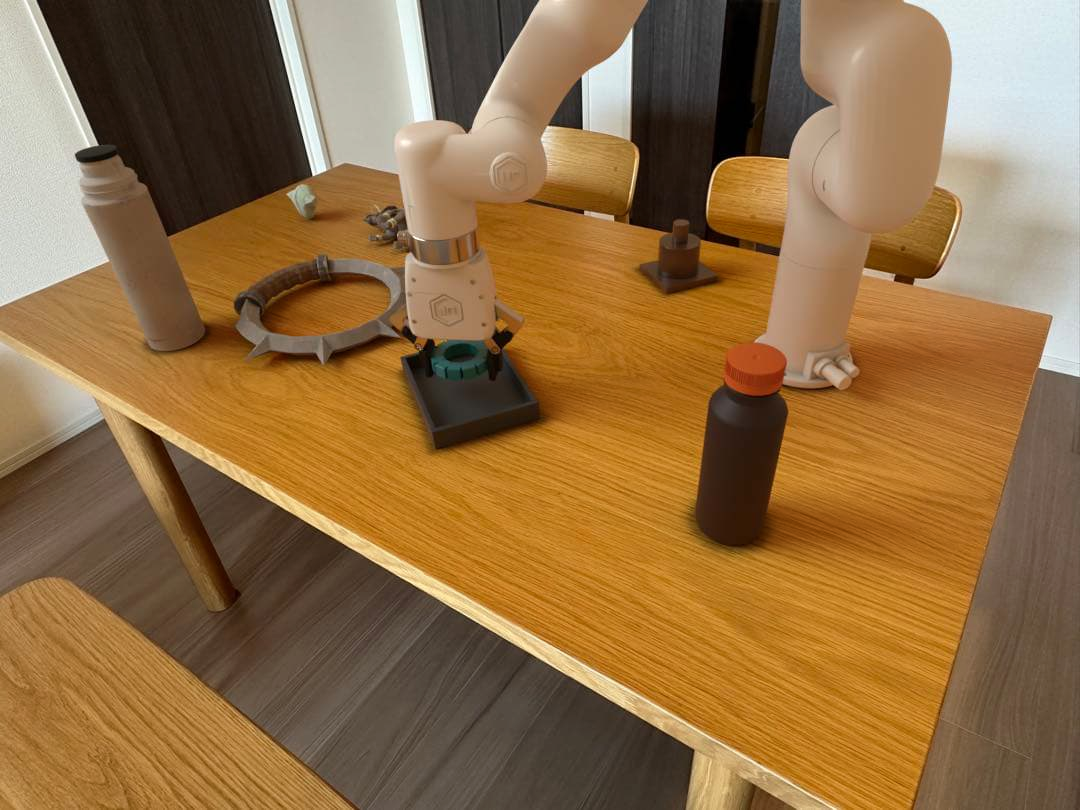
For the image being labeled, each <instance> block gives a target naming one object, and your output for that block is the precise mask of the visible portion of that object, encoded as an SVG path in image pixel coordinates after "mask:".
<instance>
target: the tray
mask: <svg viewBox="0 0 1080 810" xmlns="http://www.w3.org/2000/svg"><path fill="white" fill-rule="evenodd" d="M502 356H503V369H502V371H501V372H500V371H498V374H497V377H496V380H495V381H491V380H489V374H488V370H487V371H486V372H485V373H483V374H482V375H480V376H479V375H477V377H476V378H472V379H468V380H464V379H463V378H462V380H461V381H455V380H449V379H448V378H447V379H444V378H442V377H440V376H437V373H436V374H435V373H434V375H433V377H431V378H429V377H426V373H425V368H422V366H421V361H420V356H419V351H418V352H414V353H410V354H406V355H402V356H400V357H399V358H400V363H401V367H402V372H403V375H404V377H405V380H406V382H407V384H408V387H409V390H410V391H411V394H412V396H413V399H414V401H415V404H416V406H417V408H418V411H419V413H420V416H421V418H422V421H423V423H424V426H425V428H426V430H427V432H428V435H429V438H430V440H431V442H432V445H433V447H434V450H437V449H440V448H444V447H447V446H451V445H454V444H457V443H462V442H464V441H465V442H466V441H468V440H471V439H475V438H479V437H482V436H485V435H489V434H492V433H496V432H499V431H502V430H506V429H510V428H514V427H517V426H521V425H524V424H527V423H530V422H533V421H538V420H540V418H541V417H540V403H539V401H538V399H537V398H536V396H535V394H534V393H533V391H532V390H531V389H530V387H529V385H528V384H527V383H526V381H525V379H524V377H523V376H522V374H521V373H520V371H519V370H518V368H517V367H516V365H515V364H514V362H513V361H512V359H511V357H510V356H509V355H508V353H507V352H506V350H505V349H504V347H503V348H502ZM475 357H476V356H474V355H471V354H458V355H454V356H452V357H450V358H449V359H447V360H448V361H450V362H455V363H462V362H466V361H470V360H472V359H473V358H475Z"/></svg>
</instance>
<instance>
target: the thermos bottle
mask: <svg viewBox="0 0 1080 810" xmlns="http://www.w3.org/2000/svg"><path fill="white" fill-rule="evenodd" d="M119 153H120V151H119V149H118V147H117V146H116V145H115V144H99V145H94V146H93V145H92V146H89V147H85V148H83V149H80V150H78V151H76V152H75V154H74V157H75V160H76V161H77V163H78V164H79V165H78V166H79V169H80V171H81V174H82V176H81V177H80V179H79V180H78V184H79V186H80V191H81V192H82V193H83V196H82V197H81V198H80V203H81V205H82V208H83V209H84V211H85V213H86V216H87V218H88V219H89V222H90V224H91V225H92V228H93V229H94V231H95V234H96V236H97V239H98V240H99V242H100V245H101V246H102V249H103V251H104V253H105V256H106V257H107V259H108V261H109V263H110V266H111V267H112V269H113V272H114V274H115V276H116V278H117V280H118V282H119V285H120V286H121V289H122V291H123V293H124V295H125V297H126V299H127V301H128V303H129V305H130V307H131V309H132V310H131V311H132V312H133V314H134V316H135V318H136V320H137V322H138V325H139V327H140V328H141V330H142V333H143V335H144V337H145V340H146V342H147V343H148V346H149V347H150V349H152V350H155V351H159V352H173V351H179V350H181V349H185V348H188V347H189V346H191V345H194V344H195V343H197V342H198V341H200V340H201V339H202V338H203V337H204V335H205V333H206V327H205V325H204V323H203V321H202V318H201V315H200V313H199V310H198V308H197V305H196V303H195V301H194V298H193V295H192V293H191V290H190V289H189V286H188V284H187V281H186V279H185V277H184V273H183V271H182V269H181V267H180V263H179V262H178V260H177V257H176V255H175V252H174V250H173V247H172V245H171V242H170V240H169V237H168V235H167V233H166V230H165V227H164V226H163V223H162V221H161V218H160V216H159V213H158V211H157V208H156V206H155V204H154V203H155V202H154V201H153V198H152V196H151V194H150V191H149V189H148V186H147V185H145V184H144V183H141V182H140V181H139V180H138V174H137V173H135V170H134V169H132V167H131V168H130V167H127V166H125V164H124V163H123V160H122V158H121V156H119Z"/></svg>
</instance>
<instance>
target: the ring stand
mask: <svg viewBox="0 0 1080 810" xmlns="http://www.w3.org/2000/svg"><path fill="white" fill-rule="evenodd" d="M689 231H690V221H689V220H687V219H681V218H680V219H679V218H678V219H675V220H674V221H673V223H672V232H669V233H666V234H663V235H662V236H661V237H660V238H659V239H658V255H657V259H656V260H652V261H648V262H644V263H640V264H639V271H640V273H643V274H644V276H646V277H647V278H648V279H649V280H650V281H651V282H652V283H653V284H655V285H656V286H657V287H658V288H660V290H661V291H663V292H664V293H665V294H666V295H668V294H671V293H675V292H679V291H684V290H687V289H688V290H689V289H692V288H696V287H699V286H703V285H706V284H711V283H715V282H717V281H718V275H717V274H716V273H715V272H714V271H713V270H711V269H710V268H709V267H707V266H706V265H705V264H703V263H702V262H700V256H701V255H700V254H701V245H702V240H701V238H700V237H699V236H698V235H696V234H694V233H689Z"/></svg>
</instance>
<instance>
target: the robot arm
mask: <svg viewBox="0 0 1080 810" xmlns="http://www.w3.org/2000/svg"><path fill="white" fill-rule="evenodd" d="M648 2H649V0H538V2H537V3H536V5H535V6H534V8H533V10H532V11H531V13H530V15H529V17H528V19H527V21H526V23H525V25H524V26H523V28H522V30H521V31H520V32H519V35H518V37H516V40H515V41H514V43H513V44H512V46H511V47H510V49H509V51H508V53H507V54H506V56H505V58H504V60H503V62H502V63H501V66H500V67H499V69H498V71H497V73H496V75H495V78H494V79H493V82H492V83H491V85H490V87H489V89H488V90H487V93H486V94H485V96H484V99H483V100H482V102H481V104H480V107H479V108H478V111H477V113H476V115H475V117H474V120H473V122H472V127H471V130H470V133H467V132H466V131H465V130H464V128H463V127H462V126H461V125H459V124H457V123H456V122H453V121H448V120H441V119H432V120H431V119H430V120H422V121H421V120H420V121H417V122H413V123H411V124H408V125H406V126H403V127H401V128H400V129H399V130H398V131H397V132H396V135H395V137H394V140H393V150H394V151H393V152H394V157H395V162H396V163H395V164H396V169H397V175H398V180H399V186H400V191H401V198H402V202H403V203H402V204H404V208H403V209H405V215H406V221H407V227H408V230H405V231H398V234H397V237H396V238H397V242H399V243H405V244H408V248H409V253H407V254H406V256H405V260H404V267H405V275H404V278H405V289H406V302H405V303H404V304H402V305H401V306H400V307H398V308H397V309H396V310H394V311H393V312H392V314H391V315H390V317H389V321H390V322H391V323H392V324H393V325H394V326H393V327H395V328H396V329H397V330H398V331H399V332H400V334H401V335H402V336H403V338H405V339H406V340H408V341H409V342H410V343H411V344H413V348H414V349H415V350H416V351H418V352H419V356H420V361H421V366H422V368H425V373H426V377H429V378H431V377H433V375H434V371H433V369H432V365H431V359H430V357H431V356H430V355H431V353H432V351H433V349H434V348H435V346H436V342H435V340H442V341H447V340H462V341H483V342H484V343H485V345H486V346H487V347H488V349H489V350H488V352H487V365H488V374H489V380H491V381H495V380H496V377H497V374H498V371H500V372H501V371H502V369H503V356H502V348H503V349H504V348H505V347H506V346H507V345H508V344H509V343H511V341H513V338H514V337H515V336H516V335H517V334H518V332H520V330H521V329H522V328H523V326H524V323H525V318H524V316H522V315H521V314H520V313H518V312H516V311H515V310H513V309H512V308H510V307H509V306H507V305H506V304H504V302H501V300H499V298H498V292H497V287H496V281H495V278H494V273H493V269H492V266H491V263H490V259H489V256H488V254H487V251H486V248H485V247H483V246H480V245H481V244H480V235H479V226H478V217H477V207H476V202H481V203H482V202H483V203H491V204H502V205H511V204H512V205H513V204H519V203H523V202H526V201H528V200H530V199H531V198H533V197H534V196H536V195H537V194H538V193H539V192H540V190H542V187H543V186H544V184H545V182H546V179H547V174H548V159H547V155H546V151H545V148H544V145H543V142H542V137H543V135H544V133H545V132H546V130H547V128H548V126H549V124H550V123H551V121H552V119H553V117H554V115H555V114H556V112H557V110H558V109H559V107H560V105H561V104H562V102H563V100H564V99H565V97H566V96H567V94H568V93H569V92H570V90H571V89H572V88H573V86H574V85H575V84H576V83H577V81H578V80H579V79H580V78H582V76H584V75H585V74H586V73H587V72H588V71H590V70H591V69H593V68H595V67H597V66H599V65H600V64H602V63H603V62H605V61H607V60H609V59H610V58H611V57H613V55H614V54H615V53H616V52H618V51H619V50H620V48H621V47H622V46H623V44H624V43H625V41H626V39H627V38H628V36H629V34H630V32H631V31H632V29H633V28H634V25H635V24H636V22H637V21H638V19H639V17H640V15H641V13H642V12H643V10H644V9H645V7H646V5H647V4H648ZM799 51H800V53H799V54H800V56H799V58H800V69H801V73H802V74H801V75H802V77H803V79H804V81H805V83H806V84H807V86H808V87H809V88H810V89H811V90H812V91H813V92H815V94H817V95H818V96H820V97H821V98H823V99H825V101H828V102H829V103H830V104H832V105H829V106H826V107H824V108H822V109H820V110H817V111H816V112H815V113H813V114H812V115H811V116H810V117H809V118H808V119H806V121H805V122H804V123H803V124H802V126H801V127H800V128H799V129H798V131H797V133H796V135H795V137H794V138H793V141H792V144H791V147H790V151H789V155H788V163H787V164H788V165H787V199H786V201H787V202H786V213H785V221H784V227H783V235H782V241H781V246H780V250H779V256H778V263H777V268H776V274H775V278H774V285H773V291H772V297H771V303H770V309H769V314H768V319H767V320H768V321H767V325H766V332H765V333H763V334H761V335H759V336H758V337H756V339H755V340H754V341H753V342H754V343H762V344H767V345H770V346H772V347H775V348H776V349H778V350H780V351H781V352H782V353H783V354H784V356H785V357H786V360H787V365H786V370H785V374H784V379H783V383H782V385H785V386H788V387H793V388H799V389H822V388H827V387H832V386H834V387H835V388H837V390H839V391H845V390H847V389H848V388H849V387H850V386H851V384H852V382H853V379H854V378H856V377H857V376H858V375H859V374H860V372H861V369H860V368H859V367H858V366H856V365H855V364H854V363H853V362H854V361H853V356H852V354H851V352H850V350H851V345H850V344H849V343H848V342H846V338H847V334H848V330H849V328H850V327H849V326H850V323H851V318H852V315H853V311H854V308H855V304H856V299H857V296H858V292H859V287H860V284H861V281H862V276H863V272H864V268H865V264H866V261H867V258H868V254H869V250H870V246H871V241H872V236H873V234H875V235H877V234H878V235H879V234H886V233H892V232H893V231H896V230H899V229H901V228H903V227H905V226H906V225H908V224H909V223H910V222H911V221H913V220H914V219H915V218H916V217H917V216H918V215H919V214H920V213H921V212H922V211H923V209H924V207H926V205H927V203H928V202H929V200H930V198H931V196H932V194H933V191H934V189H935V188H936V187H935V186H936V183H937V180H938V176H939V172H940V167H941V162H942V153H943V146H944V138H945V132H946V124H947V115H948V107H949V99H950V93H951V92H950V91H951V83H952V74H953V73H952V72H953V56H952V51H951V44H950V41H949V37H948V35H947V32H946V30H945V28H944V27H943V25H942V24H941V22H940V20H939V19H938V18H937V17H936V16H934V14H932V13H931V12H929V11H928V10H926V9H925V8H922V7H921V6H918V5H915V4H912V3H909V2H906V1H904V0H800V50H799ZM499 319H500V320H501V321H503V322H504V323H505V324H507V326H505V327H504V328H503V329H502V330H501V331H500V329H499V328H498V327H497V325H496V322H498V320H499Z"/></svg>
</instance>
